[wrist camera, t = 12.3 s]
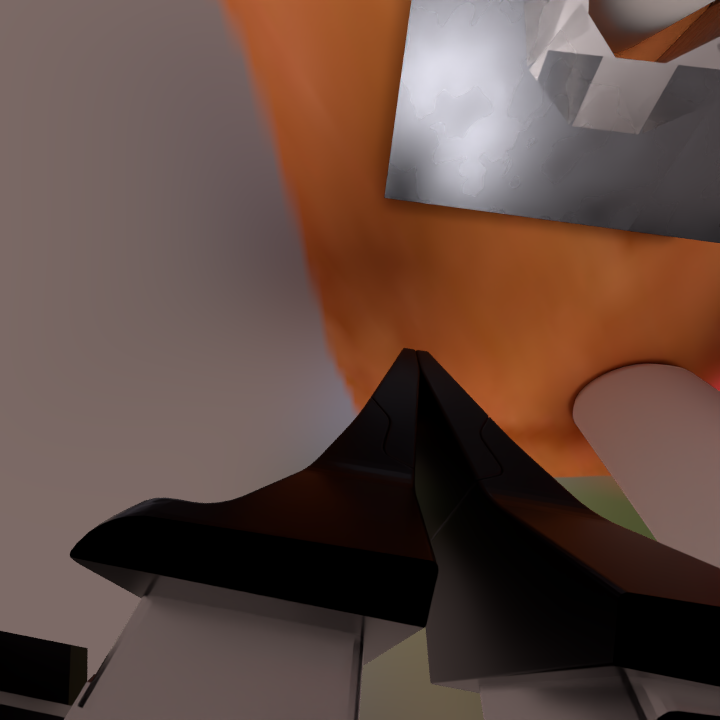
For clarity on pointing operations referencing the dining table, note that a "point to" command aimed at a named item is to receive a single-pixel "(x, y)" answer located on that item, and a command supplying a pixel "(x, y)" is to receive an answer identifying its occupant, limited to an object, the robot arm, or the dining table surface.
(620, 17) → the cap
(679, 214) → the dark grey square base
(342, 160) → the dining table surface
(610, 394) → the alcohol
